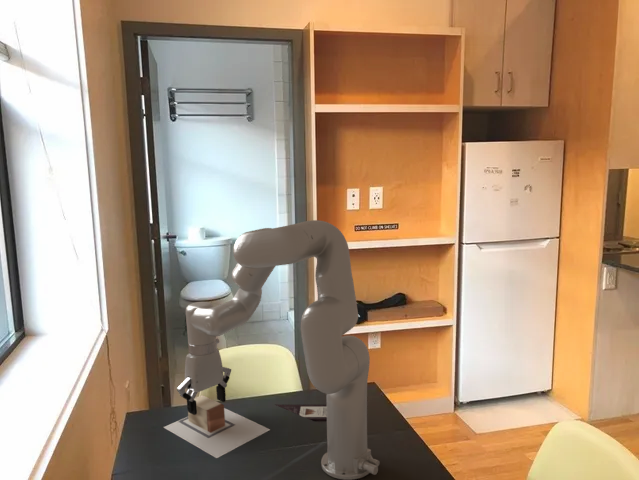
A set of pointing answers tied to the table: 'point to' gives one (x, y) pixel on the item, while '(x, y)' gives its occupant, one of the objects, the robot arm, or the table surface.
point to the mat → (218, 433)
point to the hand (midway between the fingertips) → (207, 406)
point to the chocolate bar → (308, 411)
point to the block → (208, 414)
